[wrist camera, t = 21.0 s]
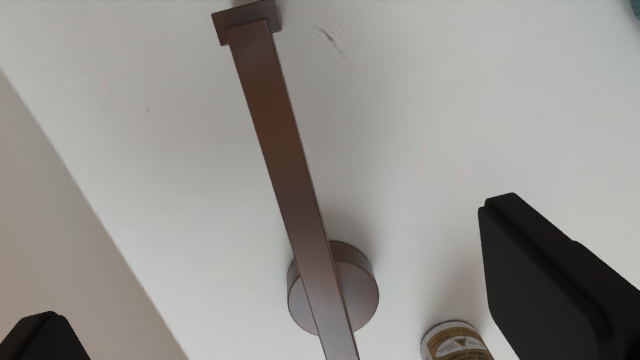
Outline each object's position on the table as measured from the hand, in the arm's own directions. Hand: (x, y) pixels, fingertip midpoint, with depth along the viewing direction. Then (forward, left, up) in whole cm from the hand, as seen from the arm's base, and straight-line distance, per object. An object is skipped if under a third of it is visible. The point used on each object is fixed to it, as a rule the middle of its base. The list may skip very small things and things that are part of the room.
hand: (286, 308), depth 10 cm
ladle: (+3, 0, -16) cm, 17 cm away
